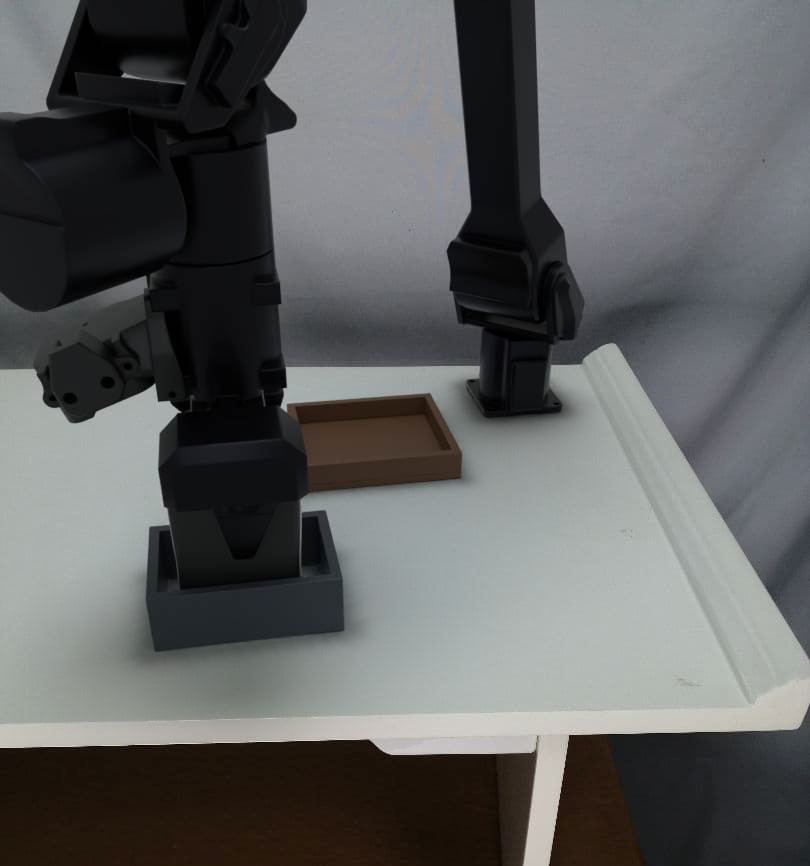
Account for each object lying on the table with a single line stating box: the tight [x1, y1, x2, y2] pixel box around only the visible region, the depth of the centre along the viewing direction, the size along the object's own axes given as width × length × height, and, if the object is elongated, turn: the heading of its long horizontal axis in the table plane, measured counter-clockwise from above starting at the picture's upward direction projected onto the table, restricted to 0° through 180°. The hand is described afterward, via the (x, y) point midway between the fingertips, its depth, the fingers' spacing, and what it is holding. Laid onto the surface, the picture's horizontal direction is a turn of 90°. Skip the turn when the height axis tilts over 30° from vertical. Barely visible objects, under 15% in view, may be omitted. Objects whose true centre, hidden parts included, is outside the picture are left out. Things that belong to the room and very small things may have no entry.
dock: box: [145, 509, 345, 653], centre depth 53 cm, size 7×10×4 cm
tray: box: [286, 392, 463, 492], centre depth 69 cm, size 10×11×2 cm
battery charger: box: [166, 407, 303, 590], centre depth 51 cm, size 7×4×11 cm, turn 95°
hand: (241, 534), depth 52 cm, fingers closed on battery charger, 4 cm apart
